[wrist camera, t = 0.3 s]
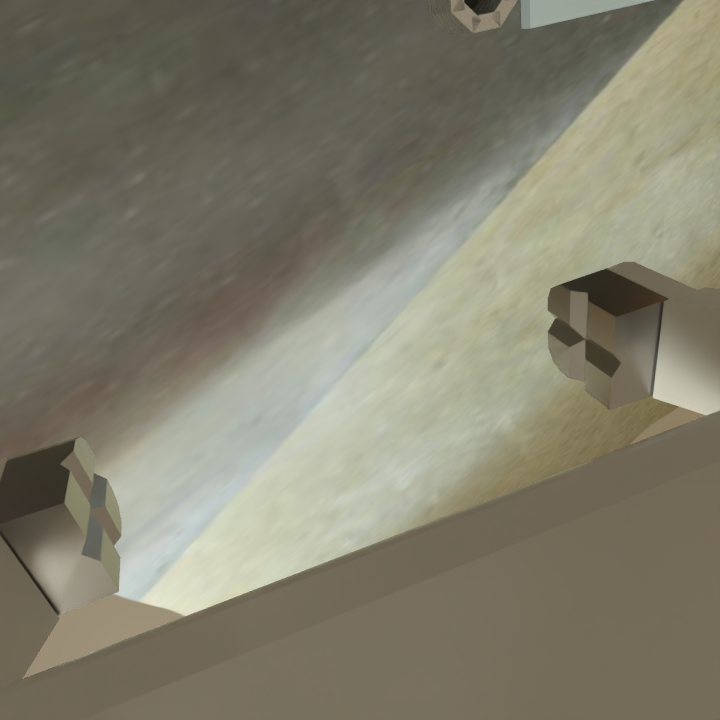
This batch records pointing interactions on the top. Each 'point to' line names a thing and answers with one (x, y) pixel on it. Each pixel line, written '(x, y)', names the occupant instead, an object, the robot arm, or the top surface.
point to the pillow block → (565, 10)
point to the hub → (469, 14)
